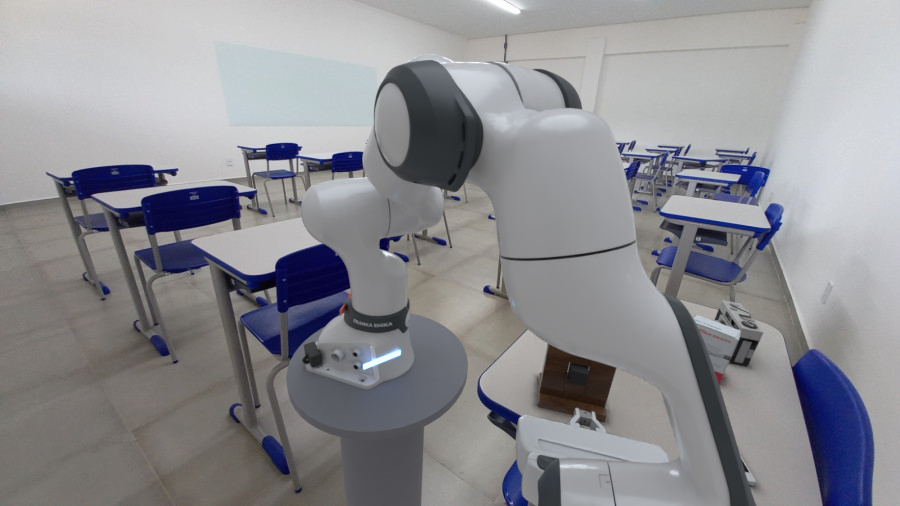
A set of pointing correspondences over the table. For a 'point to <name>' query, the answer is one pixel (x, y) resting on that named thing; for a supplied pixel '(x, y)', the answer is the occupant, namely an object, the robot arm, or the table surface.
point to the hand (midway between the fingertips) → (583, 412)
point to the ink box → (718, 343)
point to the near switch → (578, 374)
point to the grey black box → (742, 321)
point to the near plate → (569, 396)
